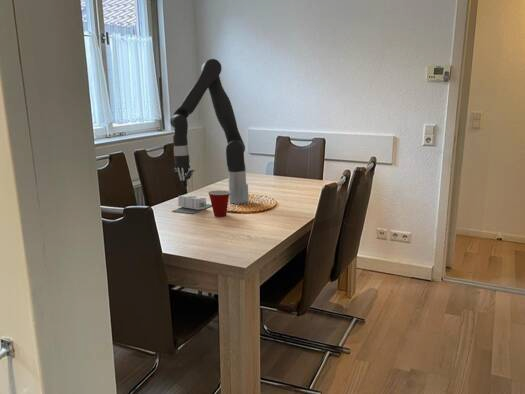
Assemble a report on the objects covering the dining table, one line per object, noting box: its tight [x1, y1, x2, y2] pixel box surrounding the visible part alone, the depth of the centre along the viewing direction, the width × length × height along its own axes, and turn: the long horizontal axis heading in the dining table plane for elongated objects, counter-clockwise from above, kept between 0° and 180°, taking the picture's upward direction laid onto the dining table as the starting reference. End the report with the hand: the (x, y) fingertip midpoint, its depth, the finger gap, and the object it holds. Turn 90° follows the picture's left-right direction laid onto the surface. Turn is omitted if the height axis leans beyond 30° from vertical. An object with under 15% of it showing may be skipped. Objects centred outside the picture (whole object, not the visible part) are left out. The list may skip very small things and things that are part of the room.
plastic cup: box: [207, 190, 231, 218], centre depth 232 cm, size 11×11×12 cm
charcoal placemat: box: [172, 203, 212, 215], centre depth 248 cm, size 13×18×1 cm
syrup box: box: [177, 194, 207, 210], centre depth 247 cm, size 6×6×14 cm
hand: (184, 187), depth 248 cm, fingers closed
